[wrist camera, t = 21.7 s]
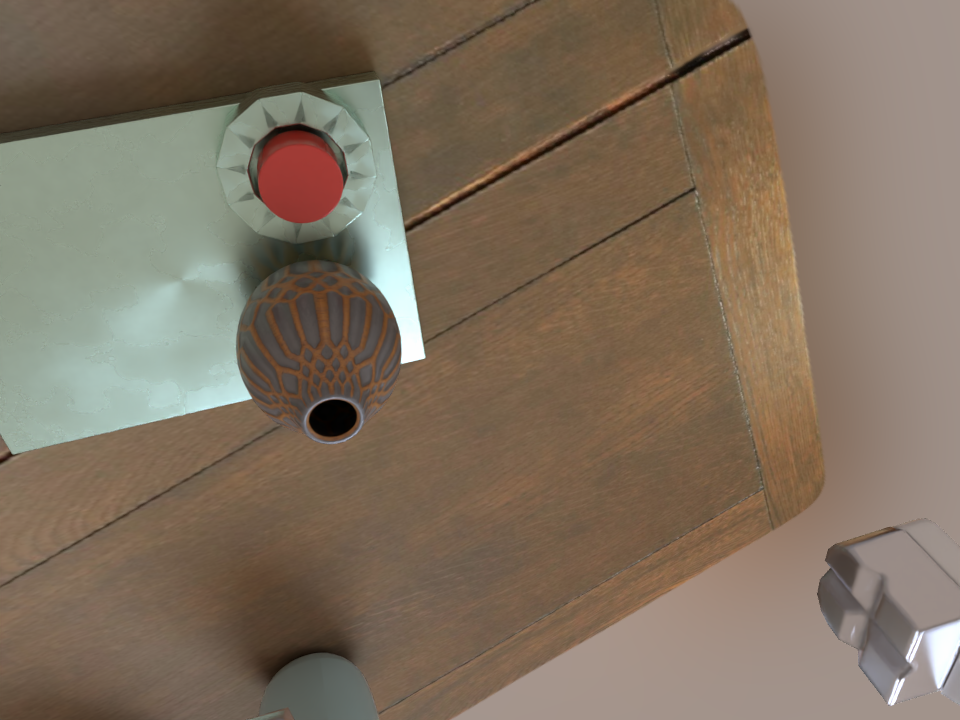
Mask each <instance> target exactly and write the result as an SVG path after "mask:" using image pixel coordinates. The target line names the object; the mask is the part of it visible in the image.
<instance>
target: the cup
mask: <svg viewBox="0 0 960 720" xmlns="http://www.w3.org/2000/svg"><path fill="white" fill-rule="evenodd" d="M287 707H288V708H289V710H290V712H291V714H292V716H293V717H294V719H295V720H380V719H379V715H378V711H377V707H376V704H375V701H374V698H373V694H372V692H371V689H370V687H369V684H368V682H367V680H366V678H365V677H364V675H363V673H362V672H361V671H360V670H359V668H358V667H357V666H356V665H355V664H354V663H352V662H351V661H349V660H348V659H346V658H344V657H342V656H340V655H336V654H332V653H312V654H308V655H305V656H302V657H300V658H297V659H295V660H293V661H292V662H290V663H288V664H287V665H285V666H284V667H283V668H281V669H280V670H279V671H278V672H277V673H276V674H275V675H274V677H273V678H272V679H271V681H270V682H269V684H268V685H267V687H266V689H265V691H264V694H263V697H262V701H261V704H260V709H259V714H258V716H260V715H263V714H266V713H270V712H273V711H276V710H280V709H283V708H287Z"/></svg>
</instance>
